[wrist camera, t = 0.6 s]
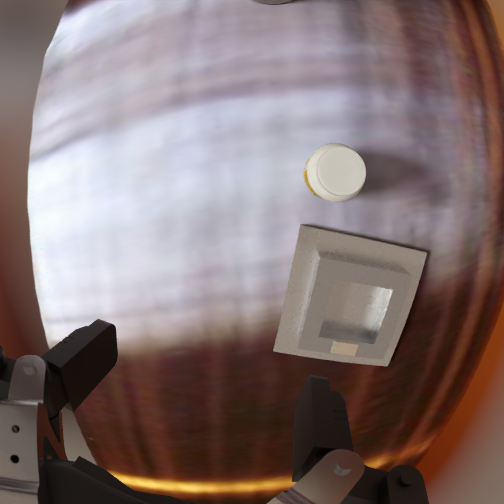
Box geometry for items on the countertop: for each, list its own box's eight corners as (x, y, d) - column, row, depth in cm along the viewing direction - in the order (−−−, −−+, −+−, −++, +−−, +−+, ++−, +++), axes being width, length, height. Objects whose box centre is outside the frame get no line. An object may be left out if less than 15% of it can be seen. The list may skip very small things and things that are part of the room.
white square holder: (299, 224, 32) (301, 229, 28) (423, 251, 30) (437, 258, 27) (273, 347, 35) (271, 362, 32) (385, 362, 34) (392, 377, 31)
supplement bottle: (309, 146, 30) (318, 128, 20) (355, 160, 29) (381, 149, 20) (297, 192, 31) (301, 193, 22) (343, 205, 31) (365, 212, 21)
